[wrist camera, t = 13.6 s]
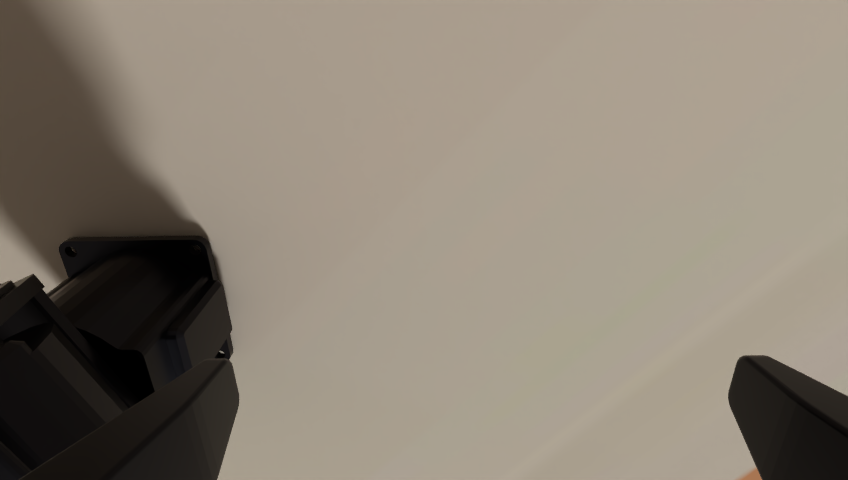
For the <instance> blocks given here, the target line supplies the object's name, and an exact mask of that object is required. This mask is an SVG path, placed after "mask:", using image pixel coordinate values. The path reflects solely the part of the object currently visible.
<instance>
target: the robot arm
mask: <svg viewBox="0 0 848 480" xmlns="http://www.w3.org/2000/svg"><path fill="white" fill-rule="evenodd" d="M193 245H197V246H199V247H200V249H201V252H200V251H197V250H196V249H195V248H194V247H193ZM71 247H72V248H74V249H75V250H76V252H77V253H75V252H74V251H72V249H71ZM59 252H60V255H61V258H62V260H63V263H64V266H65V269H66V272H67V275H68V277H69V278H68V279H66V280H65V281H64V282H62V283H61V284H59V285H58V286H57V287H55V288H54V289H53V290H51V291H50V292H49V293H47V294H46V293H45V292H44V291H43V290H42V289H43V288H44V287H45V286H44V285H43V284H42V283H41V282H40V281H39V280H38V278H37V277H36V276H35V275H34V274H32V275H30V276H27V277H25V278H23V279H21V280H19V281H17V282H15V283H13V282H12V281H11V280H10V281H8V282H5V283H3V284H0V480H217V478H218V475H219V472H220V468H221V465H222V461H223V458H224V455H225V451H226V448H227V444H228V441H229V437H230V434H231V431H232V427H233V424H234V420H235V417H236V413H237V410H238V406H239V392H238V388H237V383H236V379H235V374H234V370H233V366H232V363H231V362H230V360H229V359H230V357H231V355H232V354H233V346H232V342H231V337H230V332H231V331H232V325H231V320H230V316H229V311H228V306H227V302H226V297H225V293H224V288H223V285H222V283H221V282H220V281H219V280H218V278H217V274H216V269H215V265H214V260H213V255H212V251H211V246H210V244H209V242H208V241H207V240H206V239H205V238H203V237H201V236H149V237H83V238H69V239H68V240H66V241H64V242H63V243H62V244H60V247H59ZM219 350H221V351H223V352H224V353H225V354H223V353H220V352H219ZM728 399H729V404H730V407H731V410H732V412H733V414H734V417H735V419H736V421H737V424H738V426H739V428H740V430H741V433H742V435H743V437H744V440H745V442H746V444H747V446H748V449H749V451H750V453H751V456H752V458H753V460H754V462H755V465H756V467H757V469H758V471H759V474H760V476H761V478H762V480H848V396H846V395H844V394H842V393H840V392H838V391H836V390H834V389H832V388H830V387H828V386H826V385H824V384H822V383H820V382H818V381H816V380H814V379H812V378H810V377H809V376H807V375H805V374H803V373H801V372H799V371H797V370H795V369H793V368H791V367H789V366H787V365H785V364H783V363H781V362H779V361H777V360H775V359H773V358H771V357H768V356H764V355H745V356H742V357H740V358H739V359H738V361H737V363H736V367H735V370H734V374H733V378H732V381H731V385H730V388H729V393H728Z"/></svg>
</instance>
